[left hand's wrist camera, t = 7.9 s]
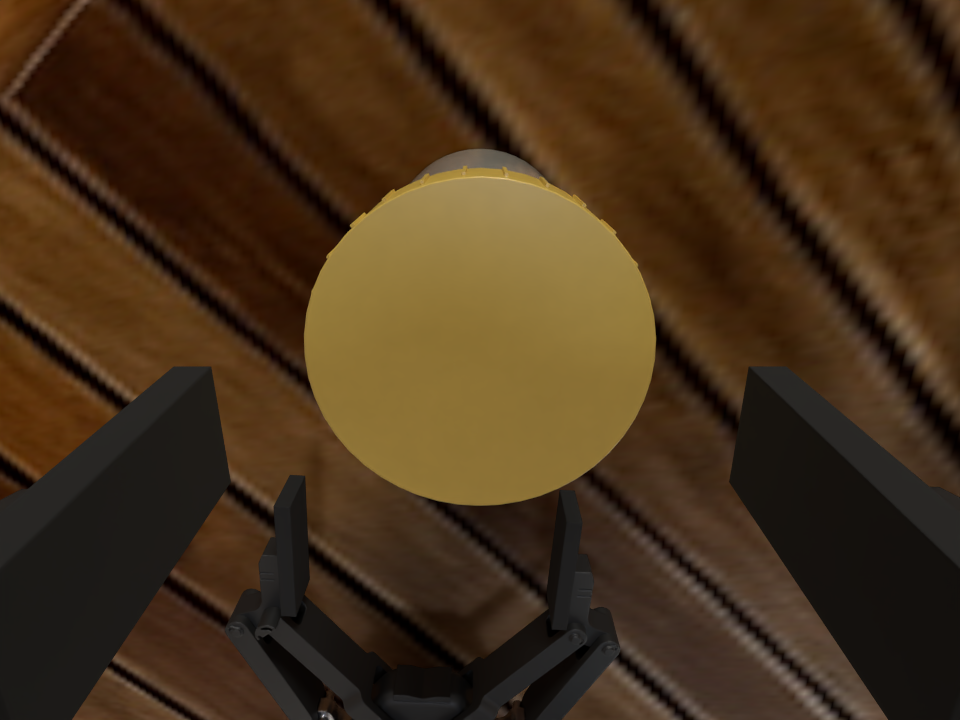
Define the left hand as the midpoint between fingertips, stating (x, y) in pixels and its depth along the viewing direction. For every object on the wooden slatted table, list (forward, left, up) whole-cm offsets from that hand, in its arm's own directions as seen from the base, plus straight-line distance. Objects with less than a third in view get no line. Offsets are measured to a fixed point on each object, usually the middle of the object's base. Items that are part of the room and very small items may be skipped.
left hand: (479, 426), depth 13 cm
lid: (0, 0, -4) cm, 4 cm away
